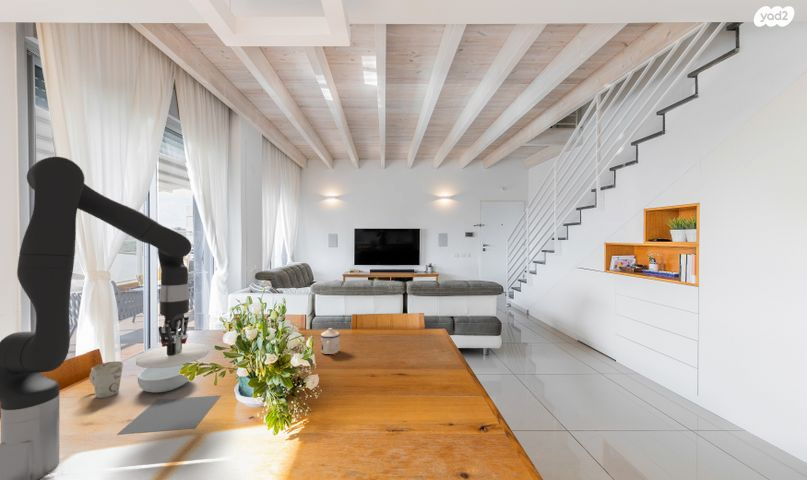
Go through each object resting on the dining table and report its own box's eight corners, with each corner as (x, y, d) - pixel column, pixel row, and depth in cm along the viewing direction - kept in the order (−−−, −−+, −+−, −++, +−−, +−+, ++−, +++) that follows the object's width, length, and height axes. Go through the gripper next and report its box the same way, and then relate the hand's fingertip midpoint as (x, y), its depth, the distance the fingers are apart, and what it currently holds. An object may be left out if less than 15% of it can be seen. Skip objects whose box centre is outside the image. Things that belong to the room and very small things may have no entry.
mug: (104, 400, 113) (104, 371, 113) (75, 396, 115) (75, 368, 115) (129, 389, 121) (129, 362, 121) (101, 386, 123) (101, 359, 123)
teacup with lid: (322, 349, 166) (322, 325, 166) (340, 349, 167) (340, 325, 166) (317, 358, 154) (317, 332, 154) (337, 357, 155) (337, 332, 155)
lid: (193, 366, 97) (193, 345, 97) (120, 369, 94) (120, 348, 94) (218, 345, 116) (218, 327, 116) (158, 347, 113) (158, 329, 113)
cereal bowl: (147, 382, 127) (147, 363, 127) (197, 376, 133) (198, 358, 133) (129, 403, 111) (129, 382, 111) (187, 395, 117) (187, 375, 117)
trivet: (195, 430, 96) (195, 428, 96) (116, 436, 93) (116, 434, 93) (220, 397, 116) (220, 395, 116) (157, 401, 113) (157, 399, 113)
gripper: (176, 302, 99) (176, 360, 99) (197, 294, 113) (197, 345, 113) (148, 303, 98) (148, 361, 98) (173, 294, 111) (173, 346, 112)
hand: (174, 352), depth 105 cm, fingers closed on lid, 3 cm apart
